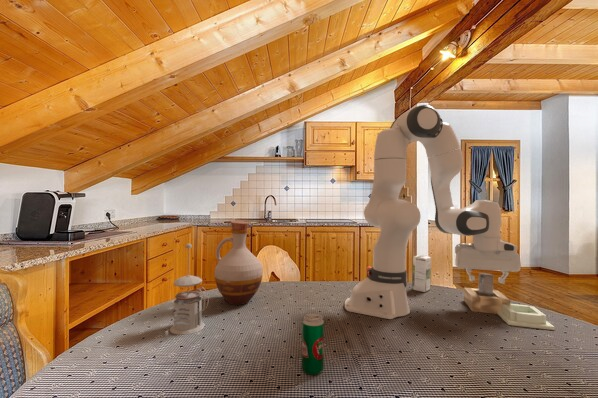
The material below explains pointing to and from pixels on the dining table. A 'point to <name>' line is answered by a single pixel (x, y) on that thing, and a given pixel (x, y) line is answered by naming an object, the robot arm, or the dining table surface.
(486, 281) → the axle
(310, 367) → the soda can
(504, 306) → the holder
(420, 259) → the syrup box
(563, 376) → the dining table surface
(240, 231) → the jug
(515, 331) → the dining table surface
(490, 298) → the bored block
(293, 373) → the dining table surface
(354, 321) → the dining table surface
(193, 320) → the french press
